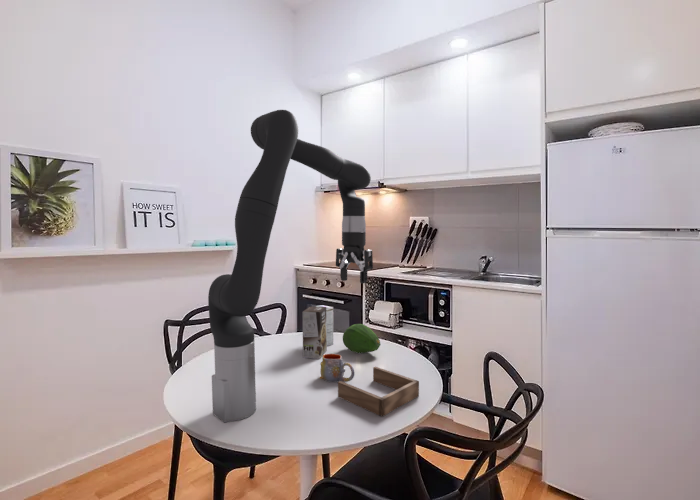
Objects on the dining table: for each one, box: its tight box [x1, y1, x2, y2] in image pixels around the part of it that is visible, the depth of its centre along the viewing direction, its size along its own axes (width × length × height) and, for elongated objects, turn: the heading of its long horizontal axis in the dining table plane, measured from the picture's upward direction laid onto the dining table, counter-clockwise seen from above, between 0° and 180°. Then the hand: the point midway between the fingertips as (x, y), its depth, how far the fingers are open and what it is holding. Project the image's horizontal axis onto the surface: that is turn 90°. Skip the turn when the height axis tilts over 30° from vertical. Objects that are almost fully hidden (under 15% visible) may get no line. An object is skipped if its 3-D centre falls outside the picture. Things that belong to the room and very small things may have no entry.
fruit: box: [342, 323, 381, 354], centre depth 133 cm, size 15×10×10 cm, turn 41°
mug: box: [319, 353, 355, 383], centre depth 110 cm, size 12×7×7 cm, turn 46°
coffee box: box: [302, 306, 328, 360], centre depth 132 cm, size 9×6×16 cm
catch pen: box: [337, 366, 420, 417], centre depth 99 cm, size 15×15×4 cm
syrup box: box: [315, 304, 334, 347], centre depth 143 cm, size 6×6×14 cm
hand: (353, 281), depth 120 cm, fingers open, 8 cm apart
